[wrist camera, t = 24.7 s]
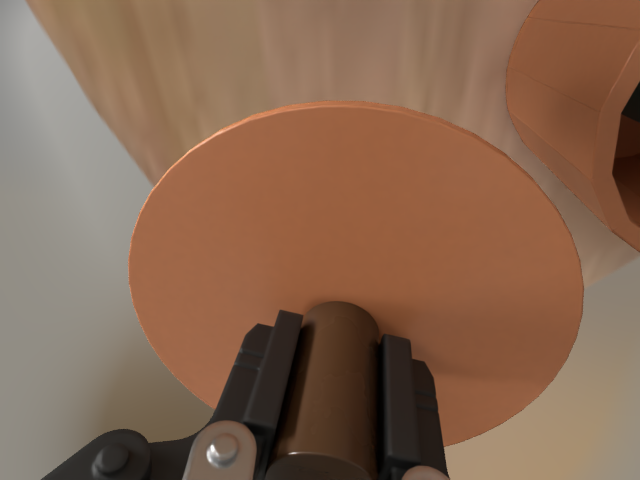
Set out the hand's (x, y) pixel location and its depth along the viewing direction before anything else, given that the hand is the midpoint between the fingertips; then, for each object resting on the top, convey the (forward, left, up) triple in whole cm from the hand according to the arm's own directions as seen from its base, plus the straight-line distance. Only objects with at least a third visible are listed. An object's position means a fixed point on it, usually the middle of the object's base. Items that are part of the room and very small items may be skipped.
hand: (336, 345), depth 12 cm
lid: (0, 0, -1) cm, 1 cm away
